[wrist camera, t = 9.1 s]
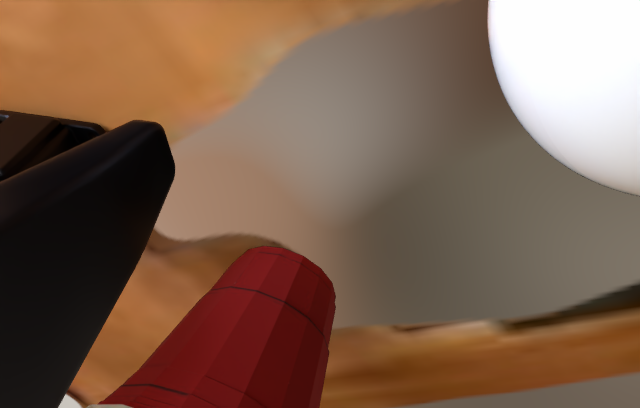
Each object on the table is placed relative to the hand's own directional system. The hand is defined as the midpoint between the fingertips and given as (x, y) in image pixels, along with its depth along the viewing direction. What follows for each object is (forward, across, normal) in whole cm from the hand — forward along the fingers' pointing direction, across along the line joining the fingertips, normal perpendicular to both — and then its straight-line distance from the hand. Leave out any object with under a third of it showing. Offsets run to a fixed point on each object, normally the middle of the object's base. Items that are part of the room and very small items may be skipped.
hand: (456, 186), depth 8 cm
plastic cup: (+13, +10, +19) cm, 25 cm away
